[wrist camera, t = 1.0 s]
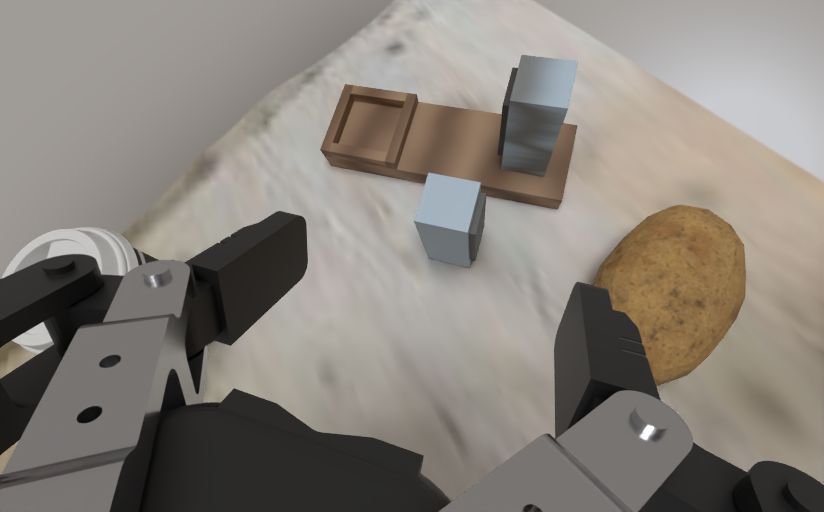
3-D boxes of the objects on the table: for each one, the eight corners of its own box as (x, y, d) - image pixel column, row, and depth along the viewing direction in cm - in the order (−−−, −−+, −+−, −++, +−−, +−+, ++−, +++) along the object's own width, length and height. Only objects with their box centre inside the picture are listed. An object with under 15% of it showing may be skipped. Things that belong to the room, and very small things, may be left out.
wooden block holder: (572, 137, 39) (612, 41, 28) (557, 209, 37) (593, 138, 26) (354, 103, 45) (312, 12, 33) (331, 165, 43) (279, 90, 31)
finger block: (484, 230, 38) (487, 183, 28) (474, 269, 37) (474, 234, 28) (439, 221, 39) (428, 172, 29) (429, 258, 38) (413, 221, 29)
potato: (553, 350, 34) (576, 343, 26) (615, 214, 36) (652, 173, 29) (670, 409, 31) (732, 421, 24) (728, 259, 34) (801, 226, 26)
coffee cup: (186, 258, 42) (40, 200, 28) (258, 289, 40) (139, 243, 26) (140, 341, 40) (-43, 325, 26) (213, 379, 38) (56, 384, 24)
